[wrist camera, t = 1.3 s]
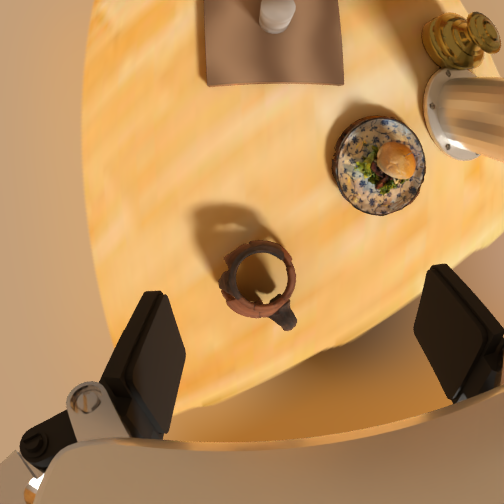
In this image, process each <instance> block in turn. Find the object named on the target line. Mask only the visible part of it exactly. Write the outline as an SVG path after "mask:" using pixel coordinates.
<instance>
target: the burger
mask: <svg viewBox="0 0 504 504" xmlns="http://www.w3.org/2000/svg"><path fill="white" fill-rule="evenodd" d="M336 144H337V145H336V146H337V147H336V149H335V148H334V149H335V151H336V150H337V151H336V152H337V153H334V155H335V159H332V167H333V168H332V174H333V176H334V178H335V180H336V182H337V185H338V187H339V190H340V192H341V194H342V196H343V197H344V198H345V199H346V200H347V201H348V202H349V203H351V204H352V205H353V206H354V207H355V208H356V209H358V210H360V211H362V212H364V213H367V214H371V215H378V216H384V215H387V214H390V213H393V212H396V211H398V210H401V209H403V208H404V207H405V206H407V205H409V204H411V203H412V202H413V201H414V200H415V198H416V197H417V196H418V194H419V191H420V187H421V184H422V183H423V181H424V175H425V173H426V166H425V165H426V162H425V156H424V153H423V149H422V145H421V143H420V141H419V139H418V137H417V136H416V134H415V133H414V132H413V131H412V130H411V129H410V128H409V127H407V126H406V125H405V124H404V123H402V122H400V121H398V120H396V119H394V118H392V117H391V118H388V117H385V116H369V117H365V118H362V119H359V120H358V121H356V122H354V123H353V124H351V125H350V126H349V127H348V128H347V129H346V130H345V131H344V132H343V133H342V135H341V136H340V138H339V139H338V141H337V143H336Z"/></svg>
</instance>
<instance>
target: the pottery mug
mask: <svg viewBox="0 0 504 504" xmlns="http://www.w3.org/2000/svg"><path fill="white" fill-rule="evenodd" d="M255 253H269V254H272V255H274V256H276V257H277V258H279V259H280V260H282V261H283V262H284V263H285V265H286V267H287V268H286V271H287V275H288V282H287V286H286V289H285V291H284V293H283V294H282V295H281V294H278V295H277V296H276V297H274V298H273V299H271V300H270V302H269V304H263V302H262V300H258V301H255V302H250V301H248V300H247V299H246V298H245V297H243V296H242V295H241V293H240V292H239V290H238V288H237V285H236V272H237V268H238V266H239V265H240V263H241V262H242V261H243V260H244V259H245V258H246V257H248V256H250V255H252V254H255ZM224 260H225V262H226V264H227V266H228V268H229V270H228V271H225V272H224V273H223V274H222V276H221V278H220V279H219V281H218V282H219V287H220V289H222V290H221V292H222V294H223V296H224V298H225V299H226V300H227V301H226V303H227V305H228V306H229V307H230V308H231V309H232V310H233V311H235V312H236V313H238V314H240V315H243V316H246V317H251V318H261V317H268V318H270V319H272V320H273V321H275V322H276V323H277V324H278V325H280V326H281V327H282V328H283V330H284V331H289V330H292V329H293V327H295V326H296V323H297V319H296V317H295V315H294V313H293V312H292V310H291V308H290V300H289V298H290V297H291V294H292V293H293V290H294V288H295V283H296V274H295V269H294V266H293V264H292V262H291V261H292V258H291V256H290V255H289V253H288V252H287V251H286V250H285V249H284V248H283V247H281V245H279V244H277V243H274V242H270V241H263V240H257V241H250V242H249V244H243V245H241V246H239V247H238V248H237V249H236V250H235V251H233V252H231V253H230V254H228V255H226V256H225V257H224ZM234 297H235V298H234Z"/></svg>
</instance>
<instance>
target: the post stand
mask: <svg viewBox="0 0 504 504" xmlns="http://www.w3.org/2000/svg"><path fill="white" fill-rule="evenodd" d="M204 19H205V47H206V69H207V86H208V87H215V86H228V85H244V84H321V85H337V86H341V85H344V70H343V52H342V38H341V26H340V16H339V7H338V0H204Z"/></svg>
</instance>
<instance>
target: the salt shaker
mask: <svg viewBox="0 0 504 504" xmlns="http://www.w3.org/2000/svg"><path fill="white" fill-rule="evenodd" d="M422 41H423V44H424V47H425V49H426V51H427V53H428V54H429V56H430V57H431V59H432V60H433V61H434V62H435V63H436V64H437V65H439V66H440V67H441V68H447V69H449V70H452V71H460V70H466V69H473V68H476V67H478V66H479V65H480V64H481V63H482V61H483V58H484V51H485V52H487V53H489V54H495V53H497V52H499V50H500V48H501V39H500V36H499V33H498V31H497V29H496V27H495V25H494V24H493V23H492V22H491V20H490V19H489V18H487V17H486V16H485V15H483V14H482V13H479V12H472V13H470V14H469V15H468V17H467V19H465V18H464V17H462V16H460V15H458V14H456V13H450V12H448V13H443V14H441V15H440V16H439V17H436V18H434V19H432V20H431V21H429V22H428V23H426V24H425V25H424V27H423V30H422Z"/></svg>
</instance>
